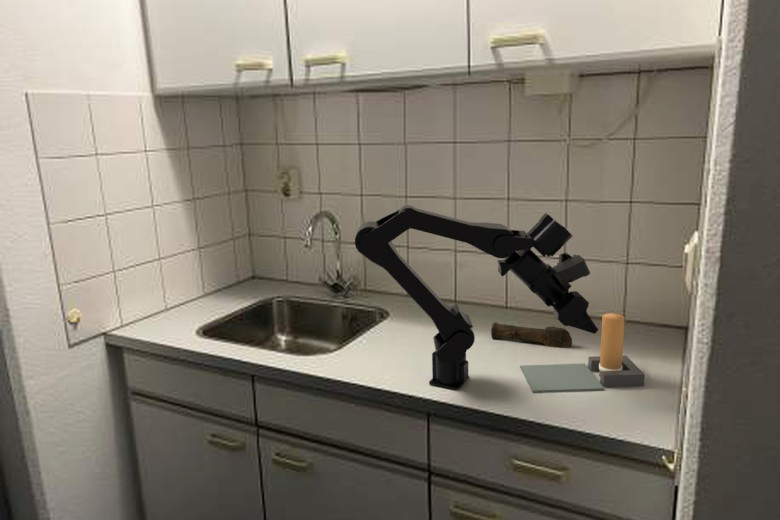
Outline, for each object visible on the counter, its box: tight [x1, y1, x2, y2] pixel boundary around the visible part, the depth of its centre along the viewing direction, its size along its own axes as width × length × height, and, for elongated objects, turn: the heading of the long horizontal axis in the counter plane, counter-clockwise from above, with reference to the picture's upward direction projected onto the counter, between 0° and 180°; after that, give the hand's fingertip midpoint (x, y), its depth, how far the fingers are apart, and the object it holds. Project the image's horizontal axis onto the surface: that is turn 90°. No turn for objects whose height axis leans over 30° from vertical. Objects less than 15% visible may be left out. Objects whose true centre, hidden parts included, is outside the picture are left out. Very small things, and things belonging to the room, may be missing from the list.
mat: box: [519, 363, 605, 393], centre depth 123 cm, size 14×12×1 cm
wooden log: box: [490, 321, 573, 348], centre depth 142 cm, size 19×4×5 cm, turn 61°
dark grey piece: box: [587, 355, 646, 388], centre depth 122 cm, size 8×9×2 cm
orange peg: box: [598, 312, 626, 377], centre depth 121 cm, size 4×4×13 cm
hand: (588, 323), depth 120 cm, fingers open, 9 cm apart
